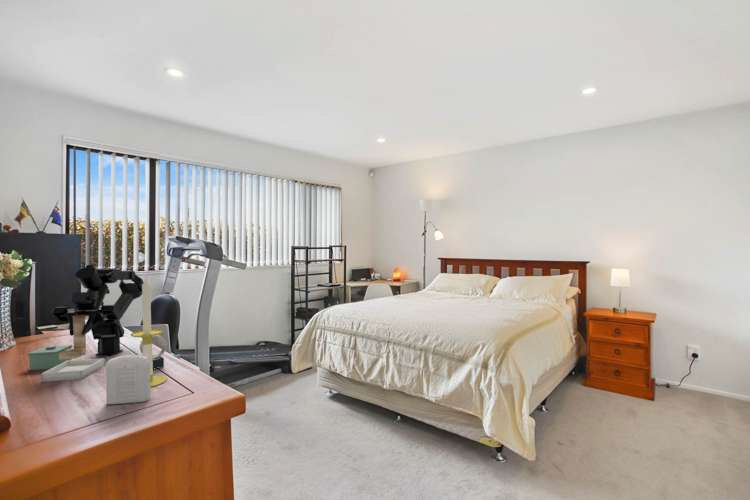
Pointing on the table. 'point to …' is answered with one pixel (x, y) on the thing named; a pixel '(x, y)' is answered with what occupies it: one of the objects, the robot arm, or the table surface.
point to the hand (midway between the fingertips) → (76, 334)
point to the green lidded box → (47, 357)
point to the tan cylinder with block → (76, 340)
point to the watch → (157, 359)
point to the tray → (72, 370)
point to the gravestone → (128, 379)
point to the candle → (148, 332)
